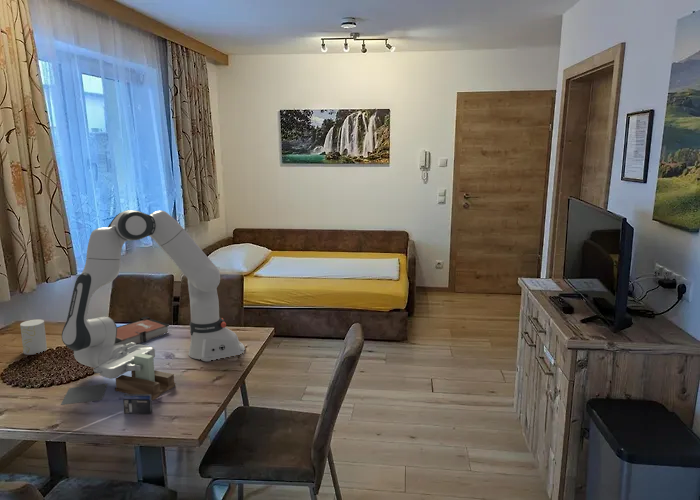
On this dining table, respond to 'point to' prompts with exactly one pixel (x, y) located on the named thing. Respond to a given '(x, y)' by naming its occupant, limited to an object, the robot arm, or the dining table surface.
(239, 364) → the dining table surface
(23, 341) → the cup
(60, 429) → the dining table surface
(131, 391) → the rack
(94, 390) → the mat
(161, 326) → the book
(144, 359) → the tall sage green pillar
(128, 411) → the mini dv tape
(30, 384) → the dining table surface
